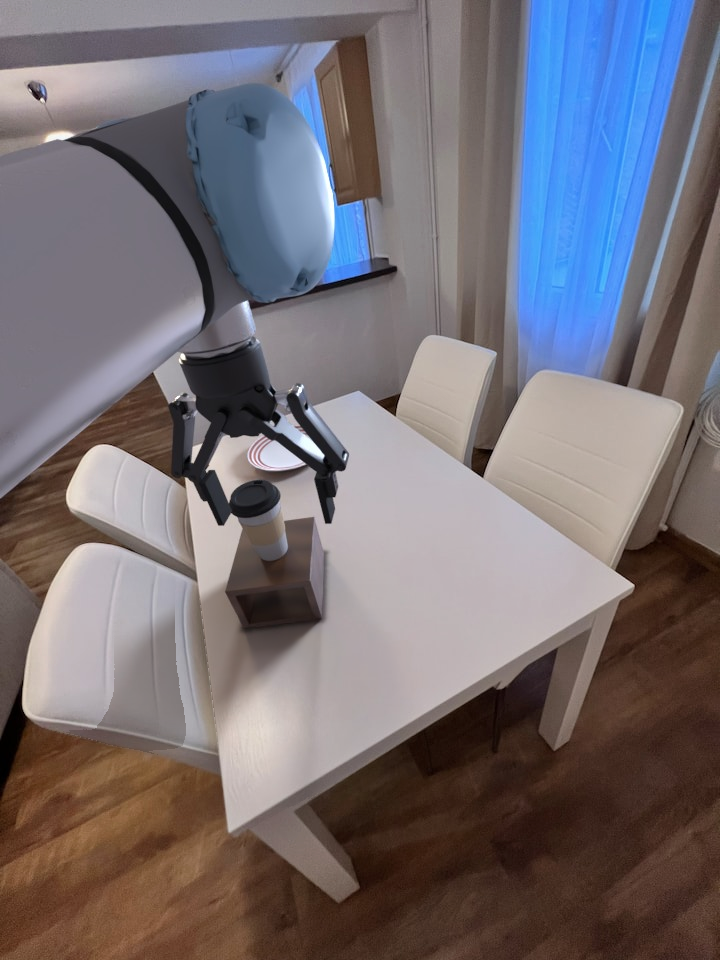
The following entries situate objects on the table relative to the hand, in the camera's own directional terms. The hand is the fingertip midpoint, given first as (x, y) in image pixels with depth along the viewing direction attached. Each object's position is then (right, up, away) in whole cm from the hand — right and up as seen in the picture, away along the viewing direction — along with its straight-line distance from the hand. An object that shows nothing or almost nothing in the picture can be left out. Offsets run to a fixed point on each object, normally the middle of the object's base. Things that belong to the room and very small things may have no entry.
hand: (276, 517), depth 49 cm
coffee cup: (-7, -10, +32) cm, 34 cm away
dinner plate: (-13, +13, +85) cm, 87 cm away
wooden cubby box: (-6, -19, +38) cm, 43 cm away
